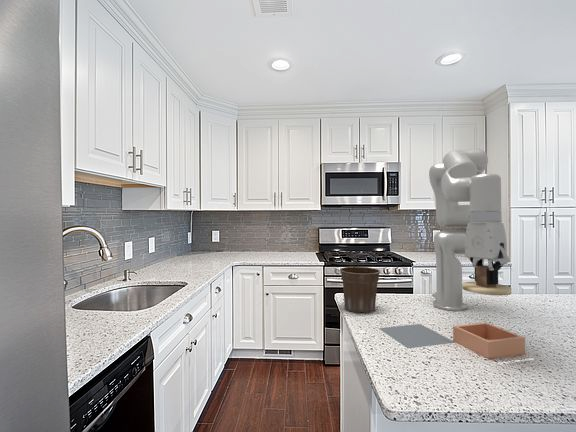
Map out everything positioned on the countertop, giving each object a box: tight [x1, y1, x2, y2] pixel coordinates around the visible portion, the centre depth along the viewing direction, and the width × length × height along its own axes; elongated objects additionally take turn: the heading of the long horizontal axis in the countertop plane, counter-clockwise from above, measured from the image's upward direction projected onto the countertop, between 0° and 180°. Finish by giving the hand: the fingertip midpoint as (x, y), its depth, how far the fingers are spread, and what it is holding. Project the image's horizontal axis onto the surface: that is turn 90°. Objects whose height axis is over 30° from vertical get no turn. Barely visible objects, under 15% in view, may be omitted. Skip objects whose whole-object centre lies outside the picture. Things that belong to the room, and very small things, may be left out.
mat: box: [378, 323, 457, 349], centre depth 95 cm, size 16×16×1 cm
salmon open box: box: [452, 322, 526, 360], centre depth 86 cm, size 12×12×5 cm
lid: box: [462, 264, 513, 297], centre depth 86 cm, size 12×12×7 cm
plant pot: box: [339, 266, 381, 314], centre depth 125 cm, size 16×16×16 cm
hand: (486, 282), depth 86 cm, fingers closed on lid, 3 cm apart
